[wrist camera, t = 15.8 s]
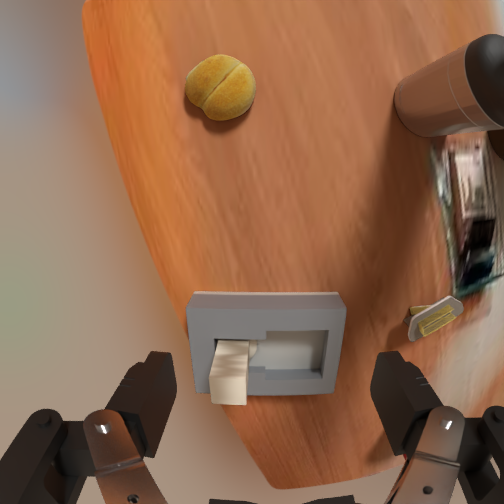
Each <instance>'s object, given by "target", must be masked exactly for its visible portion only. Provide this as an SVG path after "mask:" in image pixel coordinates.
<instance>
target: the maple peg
mask: <svg viewBox="0 0 504 504" xmlns="http://www.w3.org/2000/svg"><path fill="white" fill-rule="evenodd" d="M256 350H257V340H253V339H216V352H215V356H214V359H213V363H212V367H211V371H210V375H209V384H210V393H211V401H212V404H230V405H246V401H247V388H248V375H249V361H250V359H251V358H252V357H253V356H254V354H255V352H256Z"/></svg>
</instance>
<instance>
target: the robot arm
mask: <svg viewBox="0 0 504 504" xmlns="http://www.w3.org/2000/svg"><path fill="white" fill-rule="evenodd" d="M394 102H395V108H396V111H397V114H398V116H399V118H400V120H401V121H402V123H403V124H404V125H405V126H406V127H407V128H408V129H409V130H410V131H411V132H413V133H414V134H416V135H419V136H421V137H435V136H444V135H451V134H460V133H468V132H478V131H488V130H498V129H504V37H503V36H500V35H497V34H488V35H484V36H482V37H480V38H478V39H476V40H474V41H472V42H470V43H468V44H466V45H464V46H462V47H460V48H458V49H457V50H455V51H453V52H451V53H449V54H447V55H446V56H444V57H442V58H440V59H438V60H436V61H435V62H433V63H431V64H429V65H427V66H426V67H424V68H422V69H420V70H419V71H417V72H415V73H413V74H412V75H410V76H408V77H407V78H405V79H403V80H402V81H401V82H400V83H399V84H398V86H397V88H396V91H395V96H394ZM370 392H371V397H372V400H373V402H374V405H375V407H376V409H377V412H378V414H379V417H380V419H381V422H382V424H383V427H384V429H385V432H386V434H387V437H388V439H389V442H390V444H391V447H392V450H393V452H394V455H395V456H397V455H402V454H406V456H407V460H406V461H405V463H404V466H403V468H402V470H401V472H400V474H399V476H398V478H397V480H396V482H395V484H394V486H393V488H392V490H391V492H390V494H389V496H388V498H387V499H386V501H385V503H384V504H449V502H450V498H451V496H452V493H453V489H454V486H455V482H456V479H457V478H458V480H459V483H460V485H461V487H462V490H463V493H464V495H465V498H466V500H467V503H468V504H504V407H502V406H491V407H489V408H487V409H486V411H485V412H484V414H483V416H482V418H464V416H463V414H462V413H461V412H460V411H459V410H457V409H455V408H453V407H450V406H444V405H443V404H442V402H441V401H440V399H439V398H438V396H437V395H436V393H435V392H434V390H433V389H432V387H431V386H430V384H428V381H427V380H426V378H424V375H423V374H422V372H421V371H420V369H419V368H418V367H416V366H415V365H414V364H412V363H411V362H405V360H404V359H403V357H402V356H401V354H400V353H399V352H398V351H390V352H380V353H379V354H378V356H377V360H376V364H375V368H374V372H373V376H372V380H371V386H370ZM176 393H177V384H176V378H175V372H174V366H173V360H172V355H171V353H168V352H157V351H151V352H150V354H149V355H148V357H147V359H146V361H145V362H144V363H142V362H138V363H136V364H135V365H134V366H132V367H131V368H130V369H129V370H128V371H127V373H126V375H125V376H124V379H122V381H121V383H120V386H118V388H117V389H116V391H115V392H114V394H113V396H112V397H111V399H110V401H109V402H108V404H107V406H106V407H105V409H101V410H97V411H94V412H92V413H91V414H89V415H88V416H87V417H86V418H85V420H84V421H63V420H62V417H61V416H60V414H59V413H58V412H57V411H55V410H52V409H41V410H38V411H36V412H34V413H33V414H32V415H31V416H30V417H29V418H28V420H27V421H26V423H25V424H24V426H23V427H22V428H21V430H20V431H19V433H18V434H17V436H16V437H15V439H14V440H13V442H12V443H11V445H10V446H9V448H8V449H7V451H6V452H5V454H4V455H3V457H2V458H1V460H0V504H76V502H77V500H78V498H79V495H80V493H81V490H82V488H83V485H84V483H85V480H86V478H87V476H95V477H96V480H97V483H98V485H99V488H100V490H101V493H102V496H103V498H104V501H105V503H106V504H168V503H167V501H166V500H165V498H164V496H163V495H162V493H161V492H160V490H159V488H158V486H157V484H156V483H155V481H154V479H153V477H152V476H151V474H150V472H149V470H148V468H147V466H146V465H145V463H144V461H143V458H144V456H145V457H150V458H154V457H155V454H156V451H157V449H158V446H159V443H160V440H161V437H162V434H163V432H164V429H165V426H166V423H167V420H168V417H169V414H170V412H171V409H172V406H173V404H174V401H175V398H176ZM492 457H493V458H494V460H495V462H496V464H497V466H498V468H499V470H500V479H499V478H498V476H497V474H496V472H495V470H494V468H493V466H492V464H491V462H490V460H491V458H492ZM209 504H256V503H252V502H247V501H233V500H219V499H210V500H209ZM304 504H360V503H355V501H354V497H353V495H348V496H341V497H334V498H324V499H318V500H314V501H311V502H307V503H304Z"/></svg>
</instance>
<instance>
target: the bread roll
mask: <svg viewBox="0 0 504 504" xmlns="http://www.w3.org/2000/svg"><path fill="white" fill-rule="evenodd" d="M185 92H186V94H187V97H188V98H189V100H190V101H191V102H192V103H193V104H194V105H196V106H197V107H200V108H201V109H202V110H203V111H204V113H205V114H206V116H207V117H209V118H210V119H212V120H228V119H232V118H235V117H238V116H240V115H242V114H243V113H245V112H246V111H247V110H248V109H249V108H250V106H251V104H252V102H253V99H254V96H255V93H256V83H255V79H254V76H253V74H252V72H251V70H250V69H249V68H248V67H247V66H246V65H245V64H243V63H241V62H240V61H239V60H237V59H235V58H233V57H230V56H227V55H214V56H212V57H209V58H208V59H206V60H204V61H202V62H200V63H199V64H198V65H197V66H196V67H195V68H194V69H193V70H192V71H191V72H190V73H189V74H188V75H187V77H186V84H185Z"/></svg>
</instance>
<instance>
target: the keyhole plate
mask: <svg viewBox="0 0 504 504" xmlns="http://www.w3.org/2000/svg"><path fill="white" fill-rule="evenodd" d="M346 311H347V308H346V306H345V304H344V303H343V301H342V299H341V297H340V296H339V294H338V292H209V291H195V292H194V294H193V295H192V297H191V299H190V301H189V303H188V305H187V306H186V315H187V325H188V334H189V343H190V351H191V359H192V367H193V375H194V382H195V389H196V393H210V384H209V375H210V371H211V367H212V363H213V359H214V356H215V352H216V339H253V340H257V350H256V352H255V354H254V356H253V357H252V358H251V359H250V361H249V375H248V388H247V395H311V394H329V393H334V388H335V382H336V377H337V371H338V365H339V359H340V353H341V347H342V340H343V333H344V326H345V319H346ZM210 394H211V393H210Z"/></svg>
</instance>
